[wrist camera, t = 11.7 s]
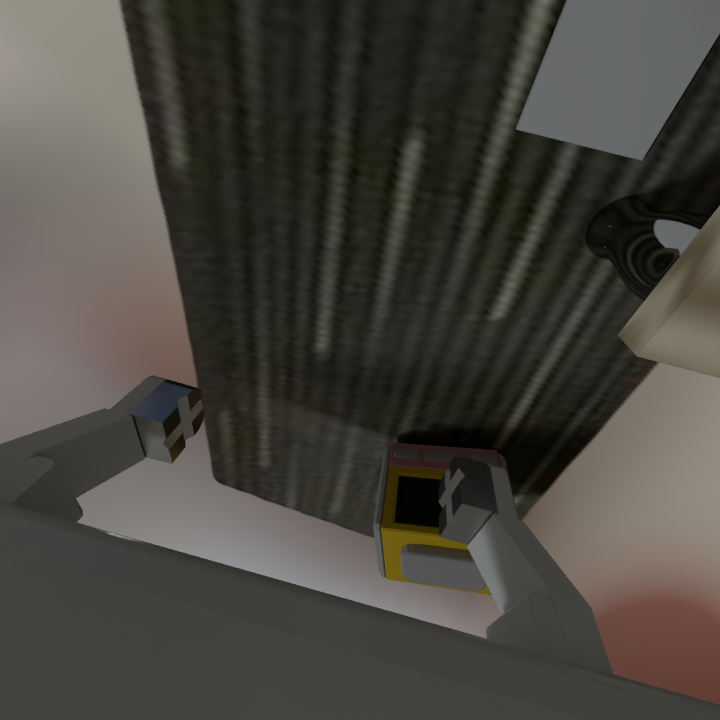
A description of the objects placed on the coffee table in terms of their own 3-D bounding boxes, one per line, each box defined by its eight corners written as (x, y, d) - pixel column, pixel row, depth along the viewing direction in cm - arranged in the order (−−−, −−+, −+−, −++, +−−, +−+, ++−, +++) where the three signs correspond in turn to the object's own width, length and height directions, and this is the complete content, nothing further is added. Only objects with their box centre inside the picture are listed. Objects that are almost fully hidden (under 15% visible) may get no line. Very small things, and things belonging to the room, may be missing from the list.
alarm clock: (503, 440, 55) (530, 556, 40) (491, 497, 64) (509, 609, 49) (385, 432, 59) (369, 536, 44) (389, 487, 68) (377, 588, 53)
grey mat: (591, -63, 25) (594, -67, 24) (751, -26, 24) (757, -29, 24) (515, 129, 32) (516, 129, 31) (638, 159, 32) (642, 160, 31)
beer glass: (658, 179, 32) (794, 211, 20) (658, 247, 35) (777, 309, 23) (576, 210, 35) (654, 255, 23) (584, 270, 38) (655, 337, 26)
